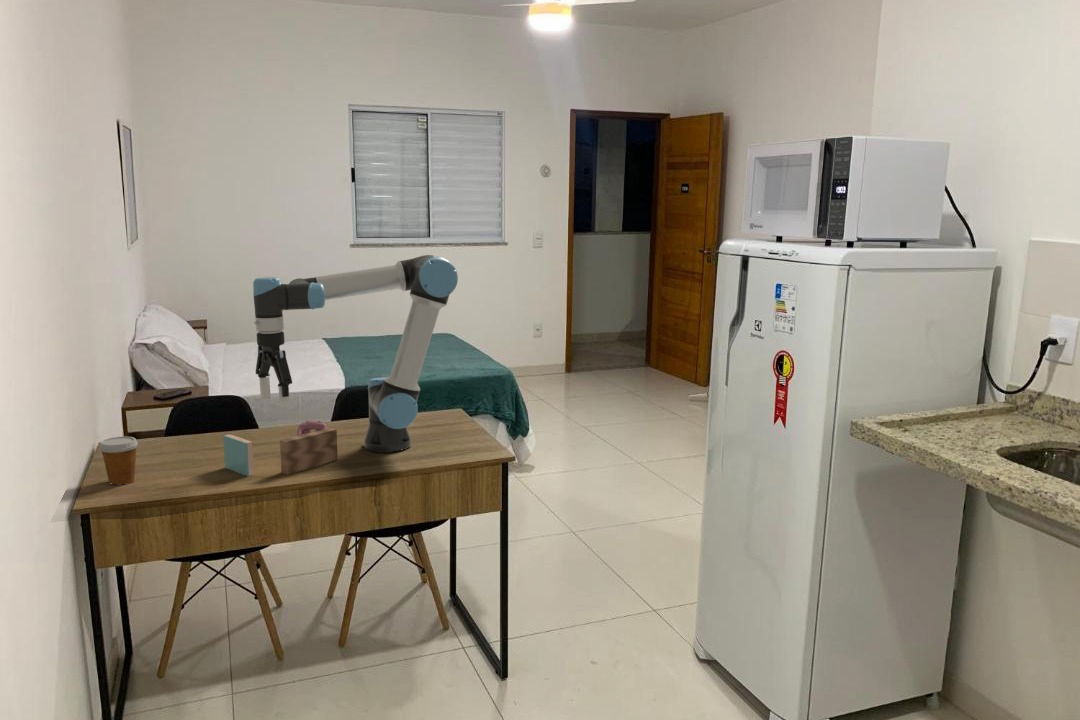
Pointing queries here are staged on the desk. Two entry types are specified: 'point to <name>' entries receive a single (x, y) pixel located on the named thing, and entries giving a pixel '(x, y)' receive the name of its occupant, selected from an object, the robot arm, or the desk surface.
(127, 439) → the disposable coffee cup
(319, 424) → the video game controller
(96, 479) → the desk surface
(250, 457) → the tile
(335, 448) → the wooden plank
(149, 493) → the desk surface
